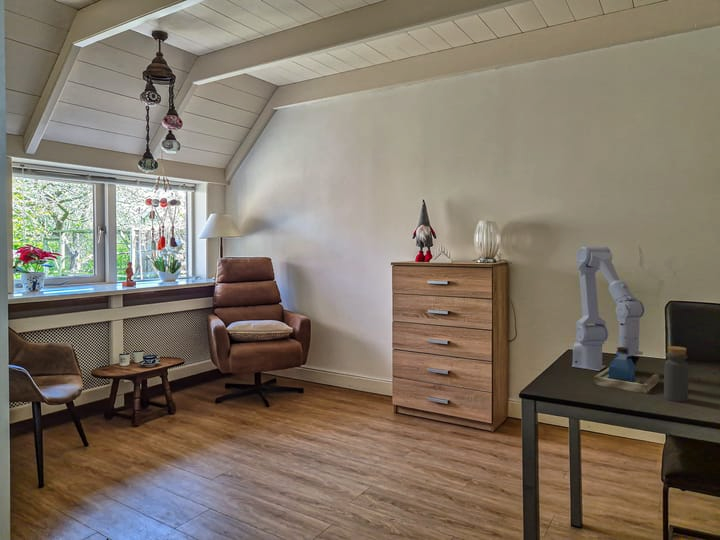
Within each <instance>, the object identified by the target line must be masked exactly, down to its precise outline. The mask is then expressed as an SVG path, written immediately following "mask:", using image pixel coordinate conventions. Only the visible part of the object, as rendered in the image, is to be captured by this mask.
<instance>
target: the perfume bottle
mask: <svg viewBox="0 0 720 540" xmlns="http://www.w3.org/2000/svg"><path fill="white" fill-rule="evenodd" d="M627 351H628V348H626V347H619V346H617V347H616V353H615V354H616V355H617V356H615V357H614V358H613V360H612V361H611V362H610V364H609V366H608V368H609V379H615V380H621V381H627V382H633V383H635V382H636V379H635V378H636V376H635V375H636V366H635V365H634V363H633V361H632V360H631V358H627V360H622V359H619V354H625V355H626V354H627V356H628V354H629V352H627Z"/></svg>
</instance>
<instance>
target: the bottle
mask: <svg viewBox="0 0 720 540" xmlns="http://www.w3.org/2000/svg"><path fill="white" fill-rule="evenodd" d="M686 353H687V348H686V347H684V346H683V347H682V346H677V345H675V346H674V345H673V346H672V345H671V346H670V345H669V346H667V352H666V353H665V355H666V357H667V358H668V359H667V360H666V361H664V373H663V374H664V375H663V376H664V377H663V398H664V399H665V400H668V401H673V402H679V403H683V402H687V401H688V398H689V397H688V396H689V365H690V364H689V363H688V362H687V361H686V359H688V354H686Z"/></svg>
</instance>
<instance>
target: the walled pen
mask: <svg viewBox="0 0 720 540" xmlns="http://www.w3.org/2000/svg"><path fill="white" fill-rule="evenodd" d="M659 379H660V374H657V373H654V374H652V375H651V377H650V378H648V379H647V380H646V381H645V382H643V379H641V378H638V379H637V380H635V383H633V382H627V381H621V380H615V379H609V367H607V368H606V369H604V370H603V371H601V372H599V373H597V374H596V375H595V376H593V385H595V386H601V387H606V388H611V389H618V390H624V391H629V392H636V393H641V394H648V393H649V392H650V391H651V390H652V389H653V388H654V387H655V386H656V385H657V384H658V383H659V381H660V380H659Z"/></svg>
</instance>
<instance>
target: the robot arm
mask: <svg viewBox="0 0 720 540" xmlns="http://www.w3.org/2000/svg"><path fill="white" fill-rule="evenodd" d="M612 261H613V253H612V252H611V249H610V248H609V246H606V245H603V246H584V245H583V246H581V247H580V248H579V249H578V251H577V253H576V263H577V270H578V274H579V275H578V276H579V286H580V287H579V288H580V297H581V298H580V299H581V310H582V311H581V312H582V317H581V318H579V320H577V321H576V322H575V323H576V324H575V325H576V328H575V338H576V340H577V341H575V342H574V344H573V346H572V347H573V348H572V365H571V368H578V369H584V370H585V369H586V370H591V371H597V372H600V371H601V370H603V369H604V368H606V366H607V365H603V345H605V342H606V341H607V340H608V338H609V331H608V328H607V325H606V324H607V323H606V321H605V320H604V319H603V318H602V317H600V314H599V304H598V301H599V300H598V292H597V279H596V273H597V272H598V270H599V271H600V272H601V273H602V275H603V277H604V278H605V280H606V281H607V283H608V284H609V286H608V292H609V293H610V295H611V297H612V299H613V301H614V303H615V305H616V307H615V308H614V309H615V314H616V316H617V321H618V323H619V324H618V325H619V326H618V327H619V328H618V329H619V331H618V347H626V348H628V351H627V352H629V354H628V356H627V354H626V355H625V354H619V359H622V360H627V358H631V360H632V361H633V363H634V365H635V367H636V366H637V363H638V362H639V361H640V356H642V355H643V354H644V352H643V351H640V350H639V349H640V319H641V318H642V317H643V316H644V314H645V306H644V303H643V302H642V301H641V300H639V299H638V298H637V297H635V296H634V295H633V293H632V292H631V289H630V288H629V286H628V284H627V282H626V281H623V280H621V279H620V278H619V275H618V273H617V270H616V269H615V266H614V264H613V262H612ZM638 355H639V356H638Z"/></svg>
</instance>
